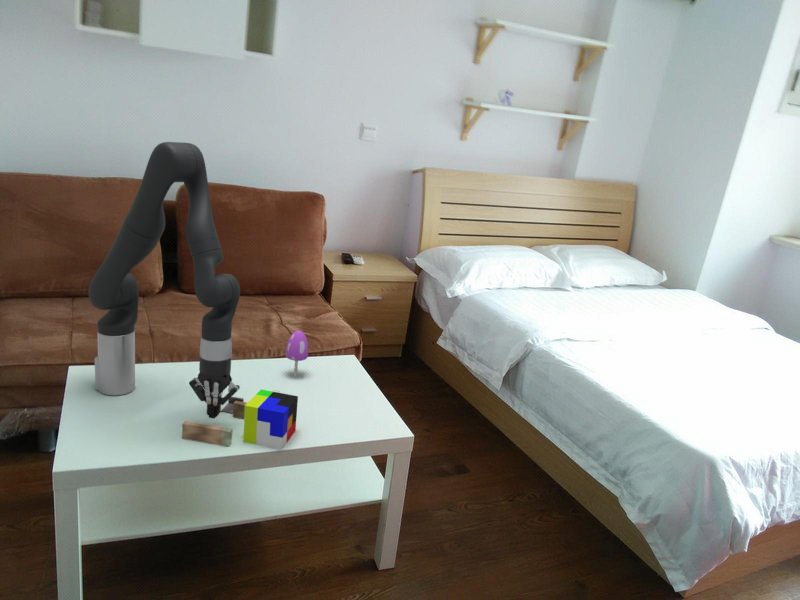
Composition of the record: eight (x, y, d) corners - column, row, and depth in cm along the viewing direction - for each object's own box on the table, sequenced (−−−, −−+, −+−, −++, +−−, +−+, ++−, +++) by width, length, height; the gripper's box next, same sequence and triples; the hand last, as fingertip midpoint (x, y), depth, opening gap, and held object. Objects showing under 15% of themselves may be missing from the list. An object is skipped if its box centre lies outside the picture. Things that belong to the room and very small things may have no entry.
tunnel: (182, 438, 152) (182, 423, 151) (219, 401, 173) (219, 387, 172) (229, 446, 151) (229, 431, 150) (260, 408, 172) (261, 394, 171)
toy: (285, 371, 197) (288, 326, 193) (306, 372, 198) (309, 328, 194) (283, 379, 191) (286, 334, 187) (305, 381, 192) (309, 335, 188)
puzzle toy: (281, 449, 152) (284, 413, 150) (243, 442, 154) (244, 405, 151) (295, 431, 162) (297, 396, 159) (259, 424, 163) (261, 389, 161)
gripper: (183, 354, 151) (181, 418, 156) (235, 363, 150) (232, 428, 155) (197, 344, 158) (195, 406, 163) (247, 352, 157) (243, 414, 162)
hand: (213, 416), depth 159 cm, fingers closed
